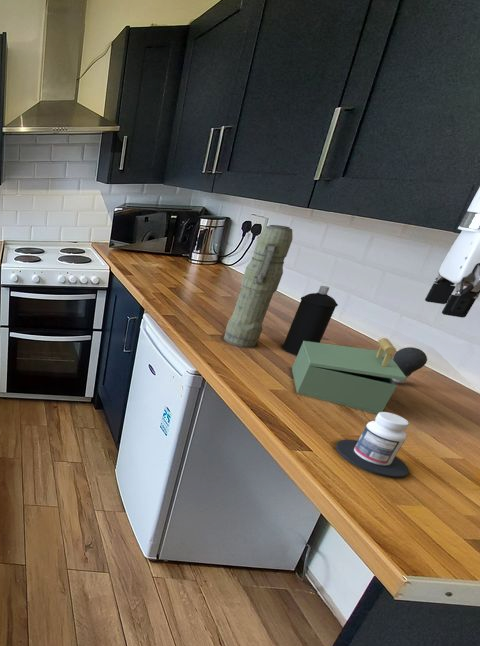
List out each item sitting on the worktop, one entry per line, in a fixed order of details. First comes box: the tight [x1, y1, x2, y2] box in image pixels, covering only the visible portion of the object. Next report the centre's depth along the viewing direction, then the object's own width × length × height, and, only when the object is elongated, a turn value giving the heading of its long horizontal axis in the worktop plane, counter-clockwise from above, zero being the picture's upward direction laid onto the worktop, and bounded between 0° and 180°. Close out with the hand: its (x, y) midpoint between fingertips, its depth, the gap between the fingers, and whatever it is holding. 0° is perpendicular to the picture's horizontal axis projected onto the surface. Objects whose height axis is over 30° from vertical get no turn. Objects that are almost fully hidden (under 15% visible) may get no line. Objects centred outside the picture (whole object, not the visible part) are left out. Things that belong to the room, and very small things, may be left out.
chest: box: [291, 344, 397, 415], centre depth 97 cm, size 15×15×8 cm
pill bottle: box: [354, 411, 409, 466], centre depth 74 cm, size 5×5×9 cm
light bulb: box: [392, 346, 428, 385], centre depth 101 cm, size 6×6×10 cm
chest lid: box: [303, 337, 407, 382], centre depth 94 cm, size 16×15×6 cm
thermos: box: [223, 224, 294, 349], centre depth 117 cm, size 9×12×35 cm
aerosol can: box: [281, 285, 339, 356], centre depth 115 cm, size 8×8×20 cm
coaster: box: [335, 439, 409, 479], centre depth 75 cm, size 10×10×1 cm
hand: (443, 308), depth 83 cm, fingers open, 9 cm apart
